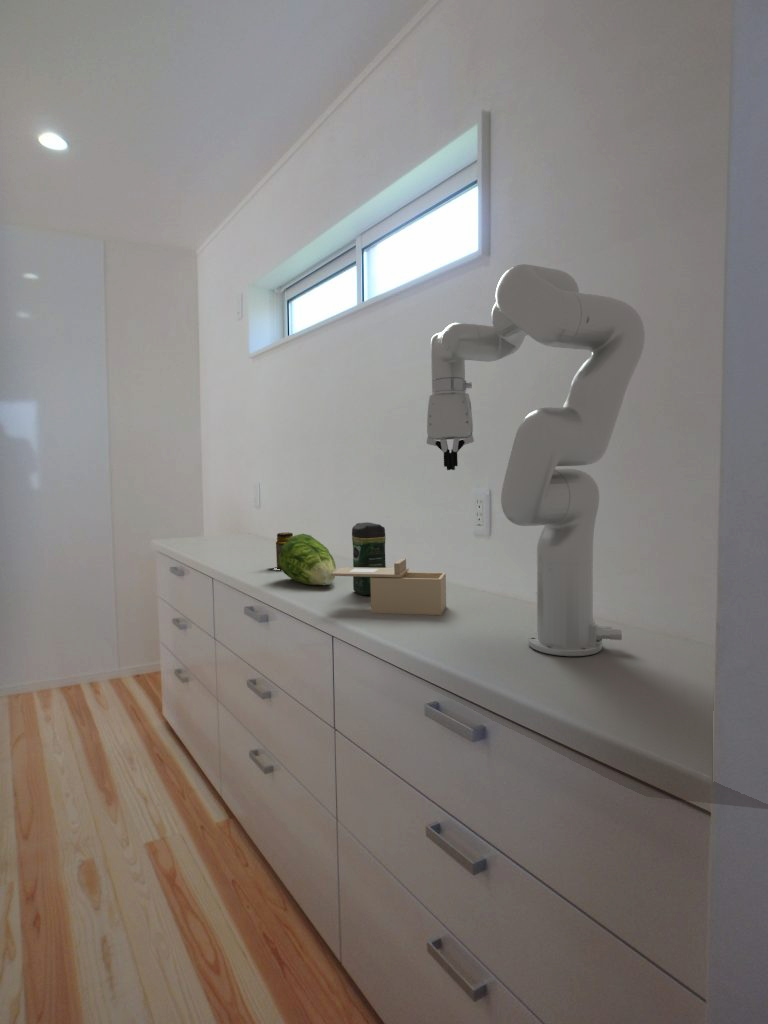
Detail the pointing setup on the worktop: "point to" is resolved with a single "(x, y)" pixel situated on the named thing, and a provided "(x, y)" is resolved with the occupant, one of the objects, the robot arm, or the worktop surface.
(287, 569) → the lettuce
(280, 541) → the condiment
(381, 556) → the coffee jar
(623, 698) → the worktop surface
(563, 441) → the robot arm
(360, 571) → the lid
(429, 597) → the box
